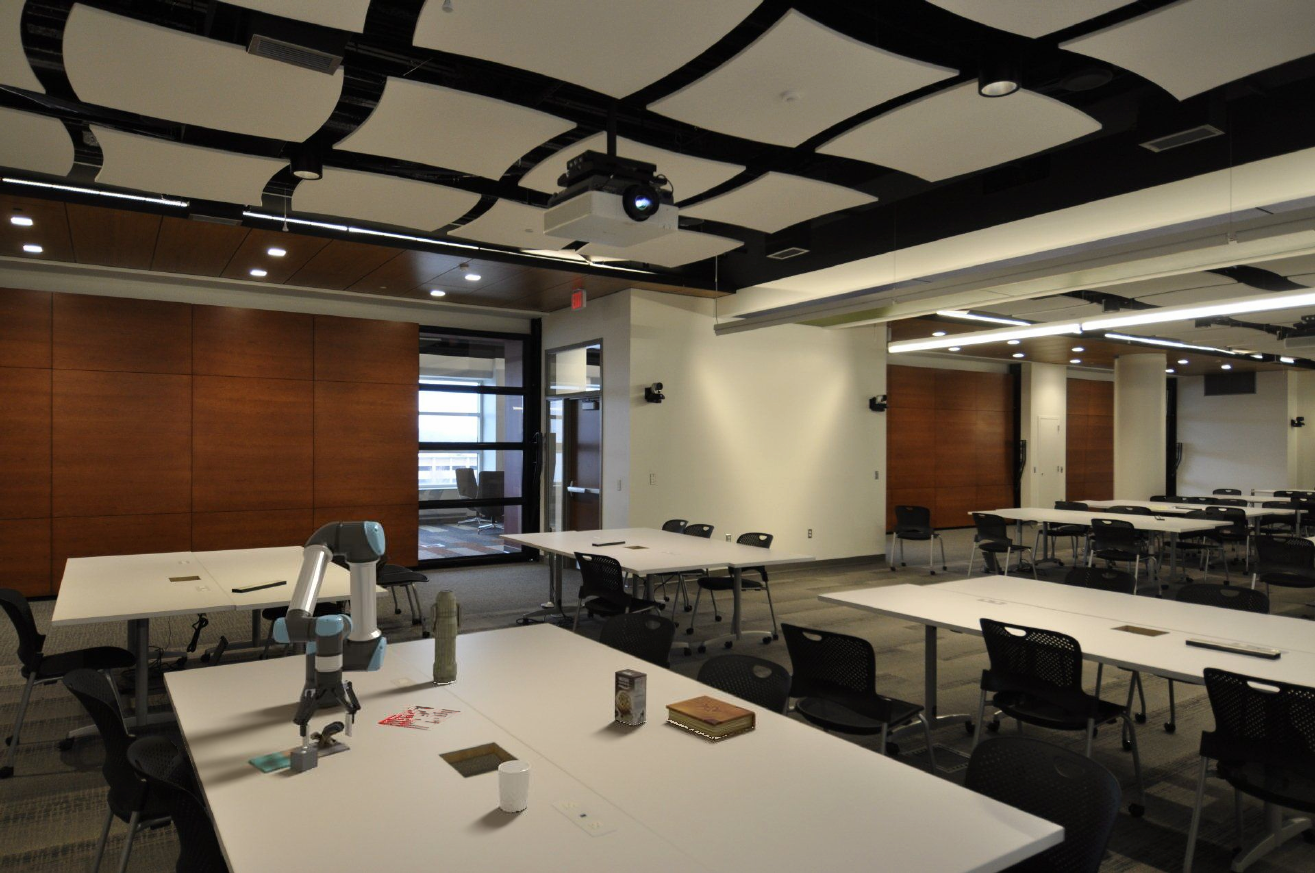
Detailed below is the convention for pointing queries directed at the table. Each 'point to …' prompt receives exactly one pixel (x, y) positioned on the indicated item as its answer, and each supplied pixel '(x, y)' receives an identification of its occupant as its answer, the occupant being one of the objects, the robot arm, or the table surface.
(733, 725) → the diary
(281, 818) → the table surface
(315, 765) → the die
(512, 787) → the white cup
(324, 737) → the dark olive curved figure
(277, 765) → the track board
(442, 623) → the thermos
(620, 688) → the coffee box
